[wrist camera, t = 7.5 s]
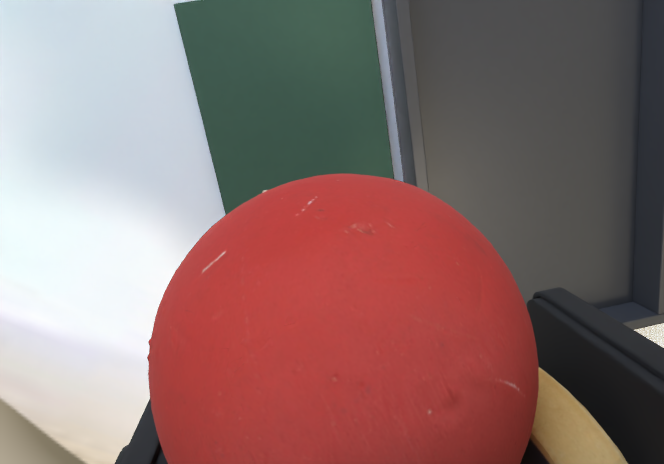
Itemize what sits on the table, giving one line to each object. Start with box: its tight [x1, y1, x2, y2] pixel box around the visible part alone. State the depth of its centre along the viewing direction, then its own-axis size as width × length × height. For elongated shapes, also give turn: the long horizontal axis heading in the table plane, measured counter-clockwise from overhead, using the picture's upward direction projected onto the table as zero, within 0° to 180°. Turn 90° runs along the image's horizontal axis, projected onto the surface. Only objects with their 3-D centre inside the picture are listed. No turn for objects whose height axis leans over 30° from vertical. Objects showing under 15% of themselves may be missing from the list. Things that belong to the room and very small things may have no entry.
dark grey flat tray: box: [382, 0, 664, 330], centre depth 20 cm, size 23×13×2 cm, turn 10°
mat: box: [174, 0, 394, 215], centre depth 22 cm, size 23×8×1 cm, turn 10°
